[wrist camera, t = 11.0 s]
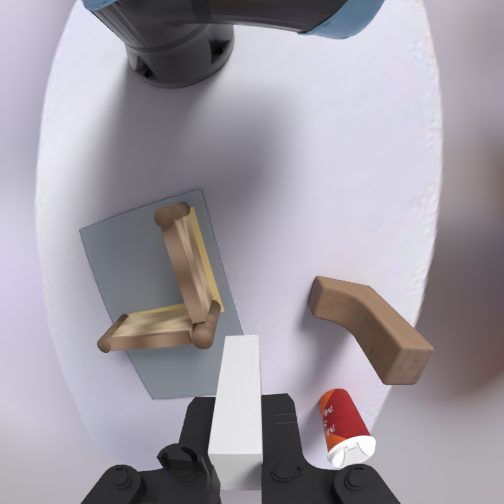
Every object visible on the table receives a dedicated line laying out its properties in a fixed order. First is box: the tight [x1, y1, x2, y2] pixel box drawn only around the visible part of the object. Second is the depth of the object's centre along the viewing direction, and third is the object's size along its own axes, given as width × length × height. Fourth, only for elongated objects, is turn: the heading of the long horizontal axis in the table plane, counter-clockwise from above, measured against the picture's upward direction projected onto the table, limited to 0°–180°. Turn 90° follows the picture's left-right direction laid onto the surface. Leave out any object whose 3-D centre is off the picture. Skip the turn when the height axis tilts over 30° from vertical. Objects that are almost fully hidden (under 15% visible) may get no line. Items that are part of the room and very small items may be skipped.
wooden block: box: [308, 276, 434, 385], centre depth 30 cm, size 9×4×18 cm, turn 78°
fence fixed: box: [154, 202, 221, 349], centre depth 32 cm, size 16×2×9 cm, turn 15°
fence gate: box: [97, 308, 197, 353], centre depth 34 cm, size 14×2×8 cm, turn 101°
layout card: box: [79, 189, 243, 400], centre depth 39 cm, size 32×20×1 cm, turn 15°
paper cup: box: [320, 389, 376, 468], centre depth 37 cm, size 8×8×14 cm
